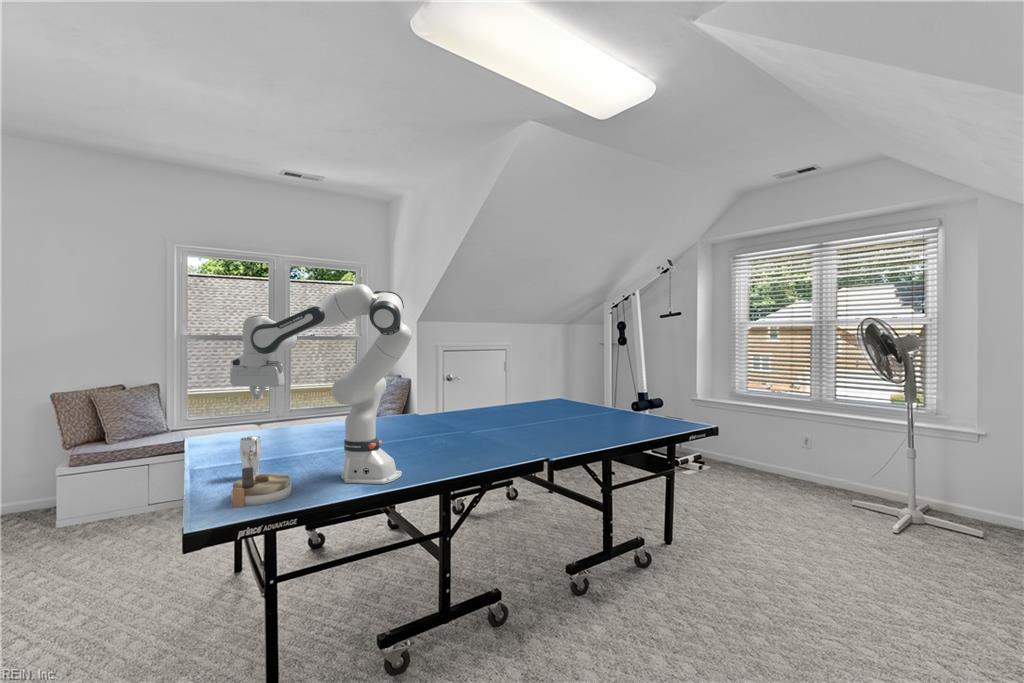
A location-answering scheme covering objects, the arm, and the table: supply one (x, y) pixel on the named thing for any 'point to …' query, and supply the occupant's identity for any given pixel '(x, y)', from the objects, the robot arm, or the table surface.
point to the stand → (257, 497)
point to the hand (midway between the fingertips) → (257, 398)
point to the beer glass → (250, 453)
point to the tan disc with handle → (261, 482)
